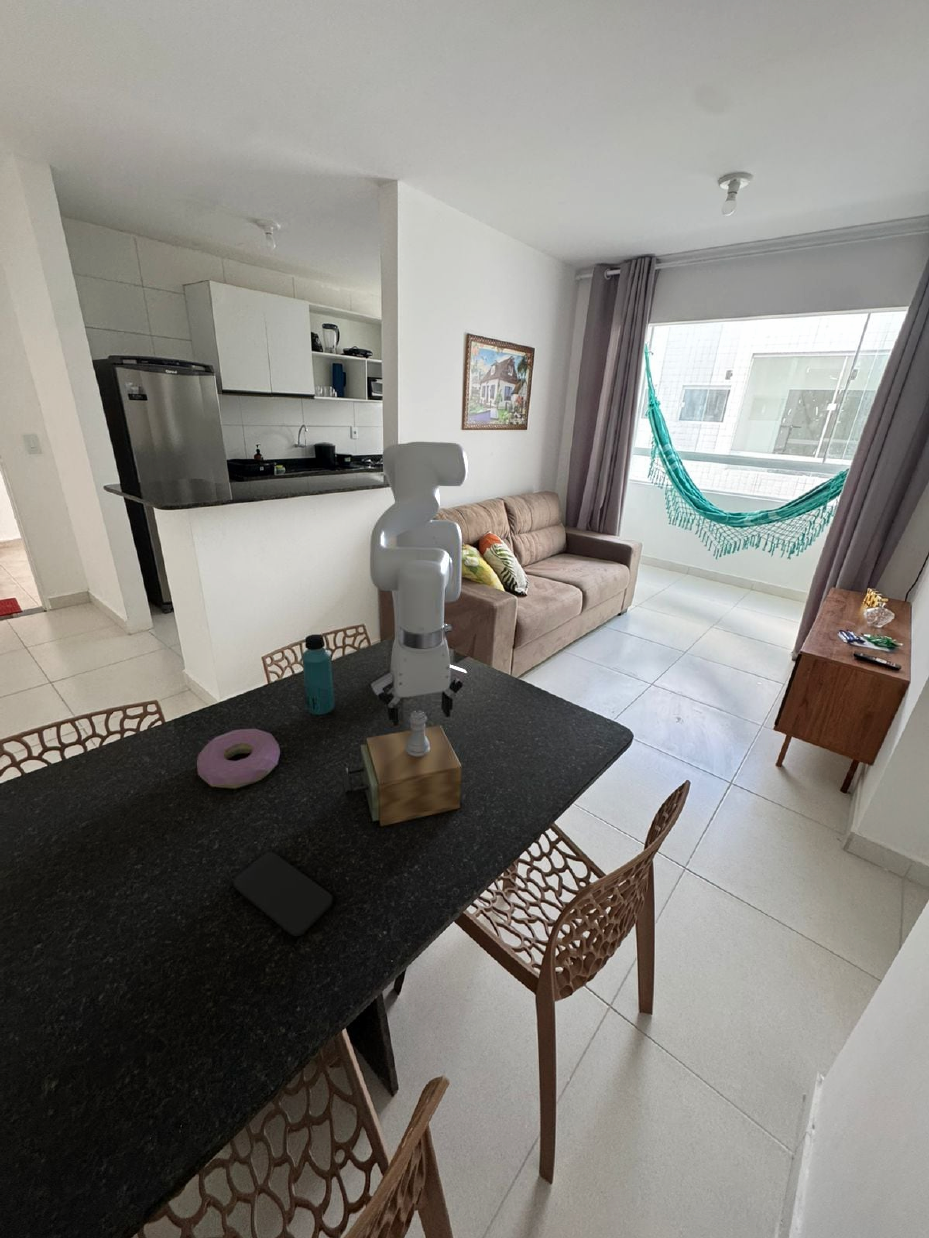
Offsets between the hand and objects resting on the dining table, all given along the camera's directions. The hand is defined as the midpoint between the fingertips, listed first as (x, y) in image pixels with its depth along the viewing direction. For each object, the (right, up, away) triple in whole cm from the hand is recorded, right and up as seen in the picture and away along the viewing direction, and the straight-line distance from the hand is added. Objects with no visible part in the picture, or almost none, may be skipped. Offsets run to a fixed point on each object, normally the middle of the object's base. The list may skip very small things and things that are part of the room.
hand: (420, 717), depth 94 cm
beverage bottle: (-26, -4, +27) cm, 38 cm away
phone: (-20, -24, -16) cm, 35 cm away
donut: (-37, -12, +9) cm, 40 cm away
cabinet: (-2, -15, +5) cm, 16 cm away
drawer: (-6, -15, +3) cm, 16 cm away
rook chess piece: (-1, -7, +1) cm, 7 cm away
